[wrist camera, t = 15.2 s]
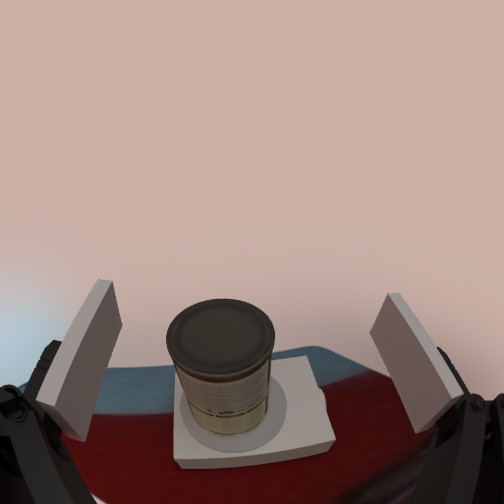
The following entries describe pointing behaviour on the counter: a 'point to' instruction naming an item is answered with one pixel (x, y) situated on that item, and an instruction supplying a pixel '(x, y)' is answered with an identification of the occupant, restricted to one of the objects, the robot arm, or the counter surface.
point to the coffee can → (223, 364)
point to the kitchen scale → (269, 431)
